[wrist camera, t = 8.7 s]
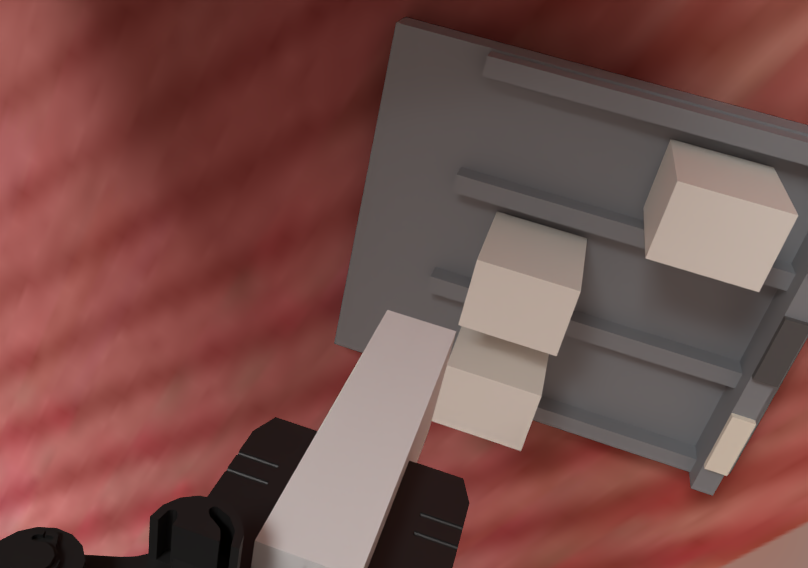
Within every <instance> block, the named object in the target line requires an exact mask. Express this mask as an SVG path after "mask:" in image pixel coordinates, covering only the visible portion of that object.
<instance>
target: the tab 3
mask: <svg viewBox="0 0 808 568" xmlns="http://www.w3.org/2000/svg"><path fill="white" fill-rule="evenodd" d="M643 211H644V236H645V258H646V259H649V260H653V261H656V262H659V263H663V264H666V265H669V266H673V267H676V268H679V269H683V270H686V271H689V272H693V273H696V274H699V275H703V276H706V277H710V278H713V279H716V280H720V281H723V282H726V283H730V284H733V285H736V286H740V287H743V288H746V289H750V290H753V291H756V292H759V291H760V289H761V287H762V285H763V284H764V282H765V280H766V278H767V276H768V274H769V272H770V270H771V268H772V266H773V264H774V262H775V260H776V258H777V256H778V254H779V252H780V250H781V248H782V246H783V245H784V243H785V241H786V239H787V237H788V235H789V233H790V231H791V229H792V227H793V225H794V223H795V221H796V219H797V217H798V214H797V212H796V210H795V208H794V206H793V204H792V202H791V200H790V198H789V196H788V194H787V192H786V190H785V188H784V186H783V184H782V182H781V180H780V178H779V176H778V175H777V173H776V171H775V169H774V167H770V166H767V165H763V164H760V163H756V162H752V161H749V160H745V159H742V158H738V157H734V156H731V155H727V154H724V153H720V152H716V151H713V150H709V149H706V148H702V147H698V146H695V145H691V144H688V143H684V142H680V141H677V140H673V139H670V142H669V144H668V147H667V149H666V152H665V154H664V157H663V159H662V162H661V164H660V167H659V169H658V172H657V175H656V177H655V180H654V182H653V185H652V187H651V190H650V192H649V195H648V197H647V200H646V202H645V205H644V207H643Z"/></svg>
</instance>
